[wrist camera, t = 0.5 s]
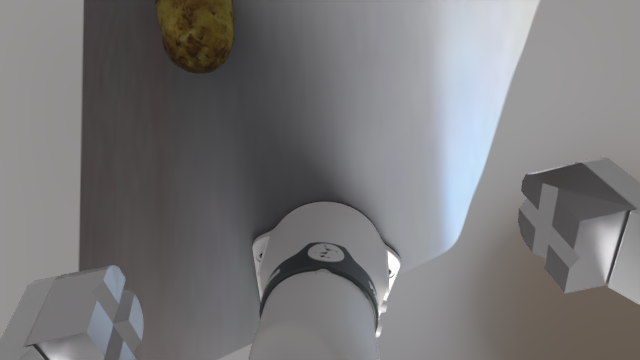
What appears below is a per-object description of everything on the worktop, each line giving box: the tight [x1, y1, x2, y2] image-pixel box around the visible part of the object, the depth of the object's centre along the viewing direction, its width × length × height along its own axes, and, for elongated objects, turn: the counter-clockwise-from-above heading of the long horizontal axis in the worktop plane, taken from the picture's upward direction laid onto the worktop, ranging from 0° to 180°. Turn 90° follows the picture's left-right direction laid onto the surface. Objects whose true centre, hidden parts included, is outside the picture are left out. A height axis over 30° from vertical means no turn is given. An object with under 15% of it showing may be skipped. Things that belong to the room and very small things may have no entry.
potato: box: [155, 0, 234, 73], centre depth 47 cm, size 8×13×8 cm, turn 169°
